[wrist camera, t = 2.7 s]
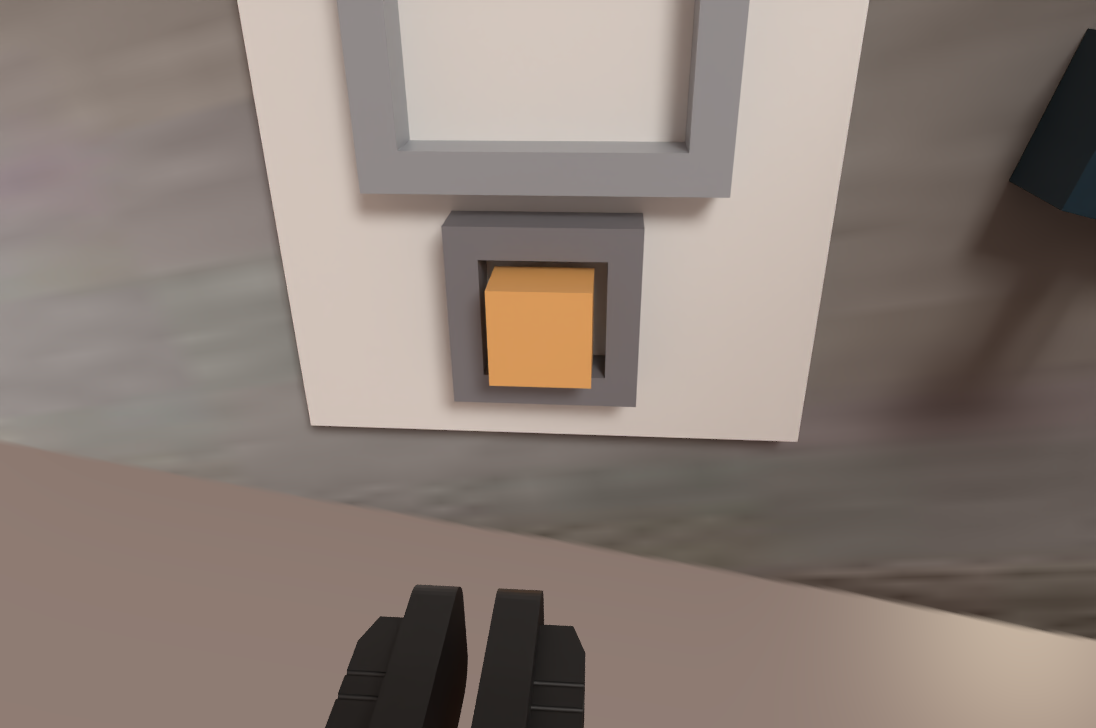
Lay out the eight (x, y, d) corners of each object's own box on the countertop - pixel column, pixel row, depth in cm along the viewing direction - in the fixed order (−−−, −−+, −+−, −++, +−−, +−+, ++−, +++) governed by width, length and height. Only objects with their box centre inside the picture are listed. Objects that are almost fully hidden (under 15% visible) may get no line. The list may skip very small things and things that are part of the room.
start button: (494, 266, 24) (484, 290, 22) (594, 267, 23) (592, 293, 22) (498, 355, 25) (489, 385, 23) (592, 357, 25) (591, 388, 23)
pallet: (173, -495, 18) (103, -567, 15) (939, -536, 17) (995, -622, 14) (322, 408, 29) (294, 450, 26) (790, 422, 28) (807, 468, 25)
